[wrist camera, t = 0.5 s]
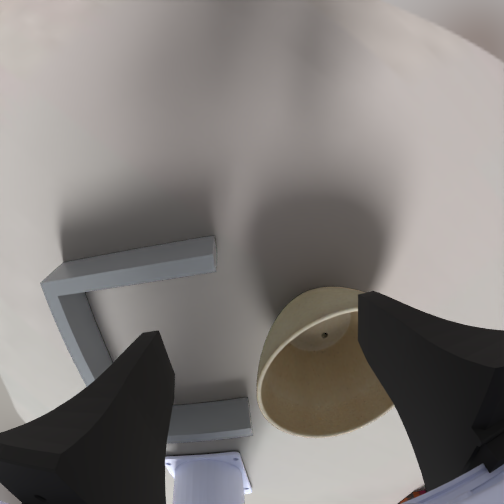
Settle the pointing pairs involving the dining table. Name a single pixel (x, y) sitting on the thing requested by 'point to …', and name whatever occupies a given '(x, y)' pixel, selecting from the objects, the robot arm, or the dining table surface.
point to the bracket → (92, 345)
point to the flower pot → (318, 368)
